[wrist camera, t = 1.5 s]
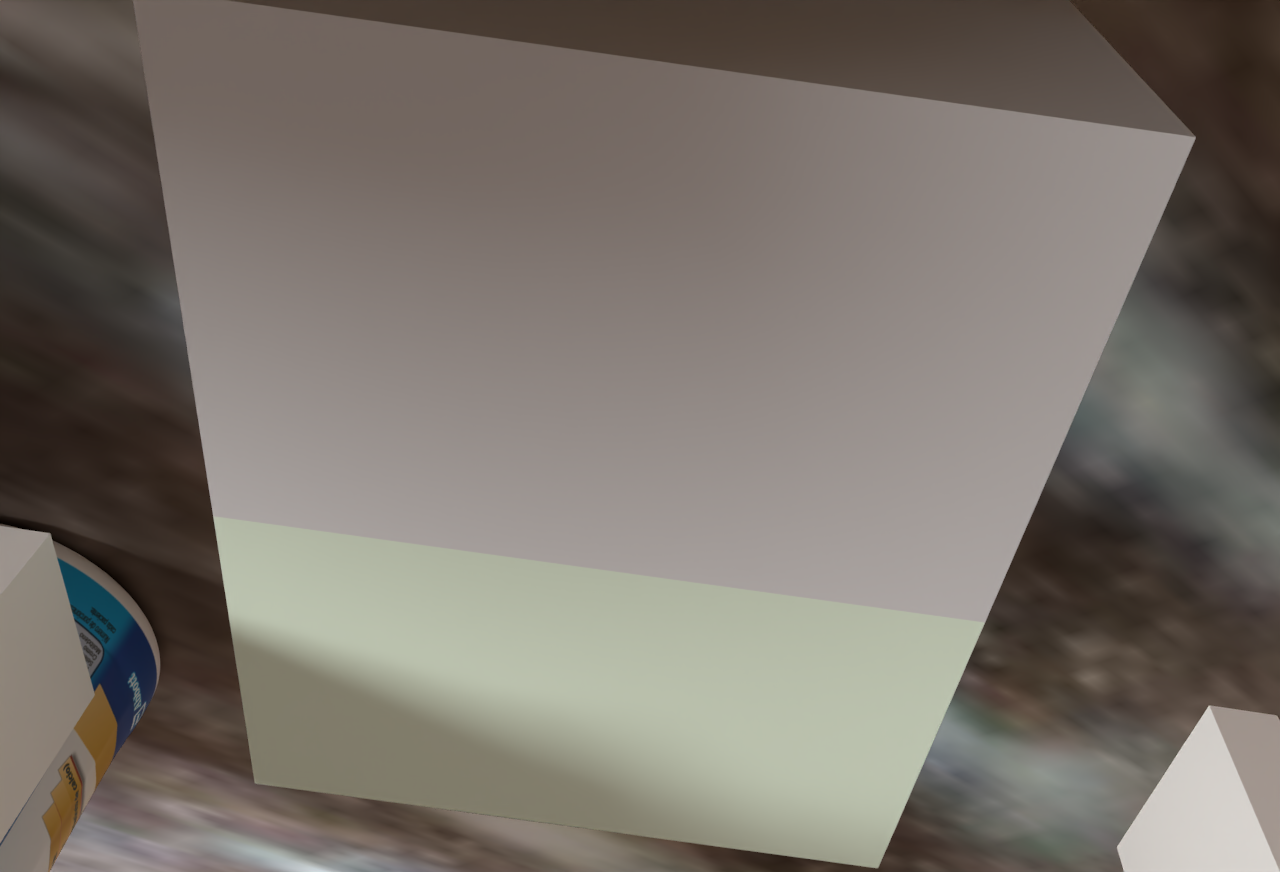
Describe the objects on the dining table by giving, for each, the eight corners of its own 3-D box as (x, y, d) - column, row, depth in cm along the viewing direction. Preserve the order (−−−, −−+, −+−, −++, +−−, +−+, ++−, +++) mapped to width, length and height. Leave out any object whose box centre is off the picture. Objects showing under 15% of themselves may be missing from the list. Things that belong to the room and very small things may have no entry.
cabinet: (454, 355, 24) (262, 832, 14) (464, -199, 18) (131, -14, 8) (811, 404, 24) (859, 912, 14) (948, -130, 18) (1195, 137, 8)
